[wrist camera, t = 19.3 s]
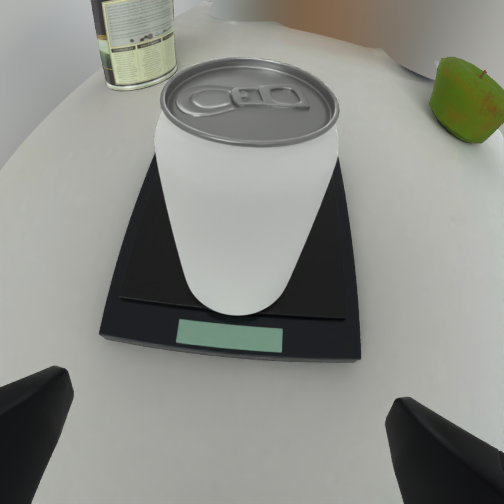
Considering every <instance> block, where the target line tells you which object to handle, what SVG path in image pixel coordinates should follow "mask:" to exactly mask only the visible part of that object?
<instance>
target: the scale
mask: <svg viewBox="0 0 504 504" xmlns="http://www.w3.org/2000/svg"><path fill="white" fill-rule="evenodd" d="M99 335H101V336H102V337H103V338H105V339H107V340H112V341H117V342H122V343H128V344H133V345H139V346H145V347H151V348H157V349H164V350H171V351H178V352H185V353H193V354H201V355H210V356H220V357H230V358H241V359H254V360H269V361H289V362H326V363H350V362H356V361H358V360H360V359H361V342H360V323H359V308H358V295H357V284H356V273H355V264H354V255H353V246H352V238H351V231H350V223H349V216H348V210H347V203H346V197H345V191H344V185H343V179H342V174H341V168H340V163H339V158H338V157H337V161H336V164H335V167H334V170H333V173H332V176H331V179H330V182H329V184H328V187H327V190H326V192H325V195H324V197H323V200H322V203H321V205H320V208H319V210H318V213H317V215H316V218H315V220H314V223H313V225H312V228H311V230H310V232H309V235H308V237H307V240H306V242H305V244H304V247H303V249H302V252H301V254H300V256H299V259H298V261H297V263H296V266H295V268H294V270H293V272H292V275H291V277H290V279H289V281H288V284H287V286H286V287H285V289H284V291H283V293H282V294H281V295H280V297H279V298H278V299H277V300H276V301H275V302H274V303H273V304H271V305H270V306H268V307H267V308H265V309H263V310H261V311H259V312H256V313H253V314H248V315H227V314H223V313H219V312H217V311H214V310H212V309H210V308H208V307H207V306H205V305H204V304H202V303H201V302H200V301H199V300H198V299H197V298H196V297H195V296H194V294H193V293H192V292H191V290H190V288H189V286H188V284H187V281H186V278H185V275H184V272H183V268H182V265H181V261H180V258H179V254H178V250H177V246H176V243H175V239H174V235H173V231H172V227H171V223H170V219H169V215H168V211H167V206H166V202H165V198H164V193H163V189H162V184H161V180H160V175H159V170H158V165H157V159H156V153H155V155H154V157H153V159H152V162H151V164H150V167H149V169H148V172H147V174H146V177H145V180H144V182H143V185H142V188H141V190H140V193H139V196H138V198H137V201H136V204H135V207H134V210H133V213H132V216H131V218H130V221H129V224H128V227H127V231H126V234H125V237H124V240H123V243H122V246H121V250H120V253H119V256H118V260H117V263H116V267H115V270H114V274H113V278H112V281H111V285H110V289H109V293H108V297H107V301H106V305H105V309H104V313H103V318H102V322H101V327H100V331H99Z"/></svg>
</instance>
